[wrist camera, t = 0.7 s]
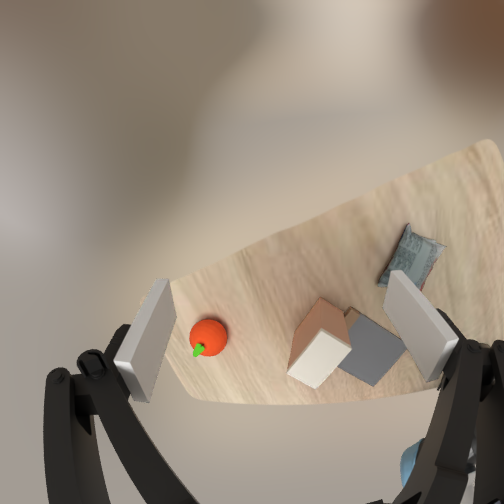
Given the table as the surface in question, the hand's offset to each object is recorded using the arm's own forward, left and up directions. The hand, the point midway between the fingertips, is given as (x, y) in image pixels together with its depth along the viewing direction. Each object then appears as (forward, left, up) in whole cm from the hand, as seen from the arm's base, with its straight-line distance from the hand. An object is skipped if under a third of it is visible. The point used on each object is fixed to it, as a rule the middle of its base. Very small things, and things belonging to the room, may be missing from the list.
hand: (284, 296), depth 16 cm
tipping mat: (-21, +11, -31) cm, 40 cm away
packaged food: (-18, -7, -32) cm, 37 cm away
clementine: (+5, +24, -32) cm, 40 cm away
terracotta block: (-10, +11, -31) cm, 35 cm away
